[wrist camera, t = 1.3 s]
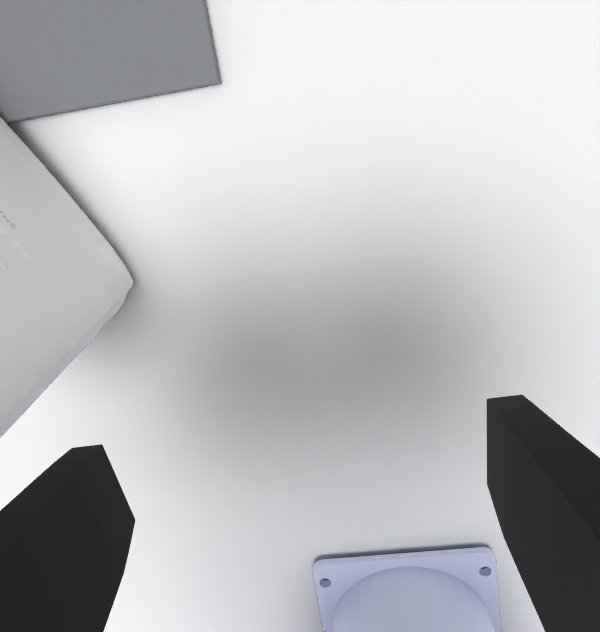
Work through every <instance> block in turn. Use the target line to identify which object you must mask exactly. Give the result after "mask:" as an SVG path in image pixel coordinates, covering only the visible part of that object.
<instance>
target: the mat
mask: <svg viewBox="0 0 600 632" xmlns="http://www.w3.org/2000/svg"><path fill="white" fill-rule="evenodd" d="M217 84H222V83H221V78H220V72H219V67H218V62H217V57H216V51H215V46H214V41H213V36H212V30H211V25H210V20H209V15H208V9H207V4H206V0H0V117H1V118H2V119H3V120H4V122H5V123H6V124H7V123H12V122H18V121H23V120H28V119H34V118H39V117H45V116H50V115H55V114H61V113H66V112H72V111H77V110H82V109H88V108H93V107H98V106H104V105H109V104H115V103H120V102H125V101H131V100H136V99H141V98H147V97H152V96H158V95H163V94H168V93H174V92H179V91H184V90H190V89H195V88H201V87H206V86H211V85H217Z"/></svg>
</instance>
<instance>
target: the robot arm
mask: <svg viewBox="0 0 600 632" xmlns="http://www.w3.org/2000/svg"><path fill="white" fill-rule="evenodd" d="M487 485H488V488H489V491H490V494H491V498H492V501H493V504H494V508H495V511H496V514H497V517H498V520H499V523H500V527H501V530H502V533H503V536H504V539H505V541H506V543H507V546H508V548H509V550H510V553H511V555H512V557H513V559H514V562H515V564H516V566H517V568H518V571H519V573H520V575H521V578H522V580H523V582H524V584H525V587H526V589H527V591H528V593H529V596H530V598H531V600H532V602H533V605H534V607H535V609H536V611H537V614H538V616H539V618H540V620H541V623H542V625H543V627H544V629H545V632H600V458H599V457H598V456H597V455H595V454H594V453H593V452H592V451H590V450H589V449H588V448H587V447H585V446H584V445H583V444H582V443H580V442H579V441H578V440H577V439H575V438H574V437H573V436H572V435H571V434H569V433H568V432H567V431H566V430H564V429H563V428H562V427H561V426H560V425H558V424H557V423H556V422H555V421H554V420H552V419H551V418H550V417H549V416H548V415H546V414H545V413H544V412H543V411H542V410H540V409H539V408H538V407H537V406H536V405H534V404H533V403H532V402H531V401H529V400H528V399H527V398H526V397H524V396H523V395H516V396H507V397H499V398H490V399H487ZM134 524H135V518H134V516H133V514H132V511H131V509H130V507H129V504H128V502H127V500H126V498H125V495H124V493H123V491H122V489H121V486H120V484H119V482H118V479H117V477H116V475H115V473H114V470H113V468H112V466H111V463H110V461H109V459H108V457H107V454H106V452H105V450H104V448H103V445H94V446H85V447H77V448H72V449H70V450H69V451H68V452H67V453H65V454H64V455H63V456H62V457H60V458H59V459H58V460H57V461H56V462H54V463H53V464H52V465H51V466H50V467H49V468H48V469H46V470H45V471H44V472H43V473H42V474H41V475H40V476H39V477H37V478H36V479H35V480H34V481H33V482H32V483H31V484H30V485H29V486H27V487H26V488H25V489H24V490H23V491H22V492H21V493H20V494H19V495H17V496H16V497H15V498H14V499H13V500H12V501H11V502H10V503H9V504H7V505H6V506H5V507H4V508H3V509H2V510H1V511H0V632H103V631H104V628H105V625H106V622H107V620H108V617H109V614H110V611H111V608H112V605H113V603H114V600H115V597H116V594H117V591H118V588H119V585H120V582H121V579H122V576H123V573H124V569H125V565H126V561H127V557H128V553H129V548H130V543H131V538H132V534H133V529H134ZM482 567H487V568H486V569H481V568H482ZM313 578H314V583H315V589H316V594H317V599H318V604H319V609H320V615H321V620H322V625H323V630H324V632H500V617H499V599H498V581H497V563H496V558H495V555H494V553H493V551H492V550H491V549H489V548H487V547H477V548H464V549H451V550H438V551H425V552H412V553H399V554H386V555H373V556H360V557H347V558H334V559H322V560H318V561H317V562H315V564H314V565H313ZM324 578H325V579H329V580H327V581H325V580H322V579H324Z"/></svg>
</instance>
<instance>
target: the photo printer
mask: <svg viewBox="0 0 600 632" xmlns="http://www.w3.org/2000/svg"><path fill="white" fill-rule="evenodd" d="M132 286H133V280H132V277H131V275H130V273H129V272H128V270H127V269H126V267H125V265H124V264H123V262H122V261H121V259H120V258H119V256H118V255H117V253H116V252H115V251H114V249H113V248H112V247H111V245H110V244H109V243H108V242H107V240H106V239H105V238H104V237H103V235H102V234H101V233H100V232H99V231H98V229H97V228H96V227H95V226H94V224H93V223H92V222H91V221H90V219H89V218H88V217H87V216H86V215H85V213H84V212H83V211H82V210H81V209H80V207H79V206H78V205H77V204H76V203H75V201H74V200H73V199H72V198H71V197H70V196H69V194H68V193H67V192H66V191H65V190H64V188H63V187H62V186H61V185H60V184H59V183H58V181H57V180H56V179H55V178H54V177H53V176H52V175H51V173H50V172H49V171H48V170H47V169H46V168H45V166H44V165H43V164H42V163H41V162H40V160H39V159H38V158H37V157H36V156H35V155H34V154H33V153H32V152H31V150H30V149H29V148H28V147H27V146H26V145H25V144H24V143H23V142H22V141H21V139H20V138H19V137H18V136H17V135H16V134H15V133H14V132H13V130H12V129H11V128H10V127H9V126H8V125H7V124H6V123H5V122H4V120H3V119H2V118H1V117H0V438H1V437H2V436H3V435H4V434H5V433H6V431H7V430H8V429H9V428H10V427H11V426H12V425H13V424H14V423H15V422H16V421H17V420H18V419H19V418H20V416H21V415H22V414H23V413H24V412H25V411H26V410H27V409H28V408H29V407H30V406H31V405H32V404H33V403H34V402H35V400H36V399H37V398H38V397H39V396H40V395H41V394H42V393H43V392H44V391H45V390H46V389H47V388H48V386H49V385H50V384H51V383H52V382H53V381H54V380H55V379H56V378H57V377H58V376H59V374H60V373H61V372H62V371H63V370H64V369H65V368H66V367H67V366H68V365H69V364H70V363H71V362H72V361H73V359H74V358H75V357H76V356H77V355H78V354H79V353H80V352H81V351H82V350H83V349H84V348H85V347H86V346H87V344H88V343H89V342H90V341H91V340H92V339H93V338H94V337H95V336H96V335H97V333H98V332H99V331H100V330H101V329H102V328H103V327H104V326H105V325H106V324H107V323H108V321H109V320H110V319H111V318H112V317H113V316H114V315H115V314H116V313H117V312H118V311H119V309H120V308H121V307H122V305H123V303H124V302H125V299H126V297H127V294H128V291H129V289H130V288H131V287H132Z"/></svg>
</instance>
